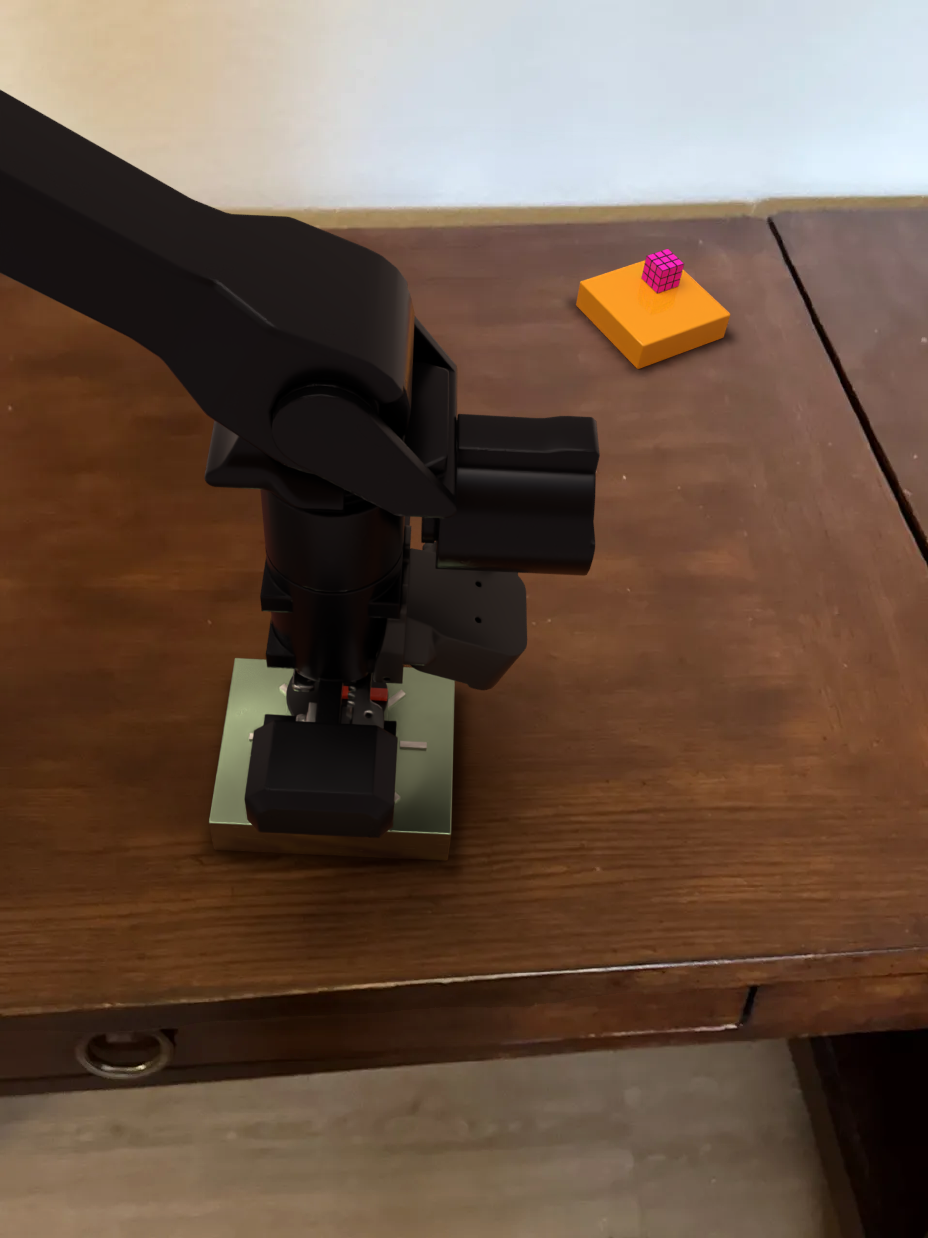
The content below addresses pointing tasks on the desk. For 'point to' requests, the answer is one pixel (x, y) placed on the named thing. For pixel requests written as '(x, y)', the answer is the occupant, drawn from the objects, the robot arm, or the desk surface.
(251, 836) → the dial panel
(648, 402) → the desk surface
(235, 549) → the desk surface
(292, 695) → the pointer wheel
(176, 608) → the desk surface
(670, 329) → the orange square platform
